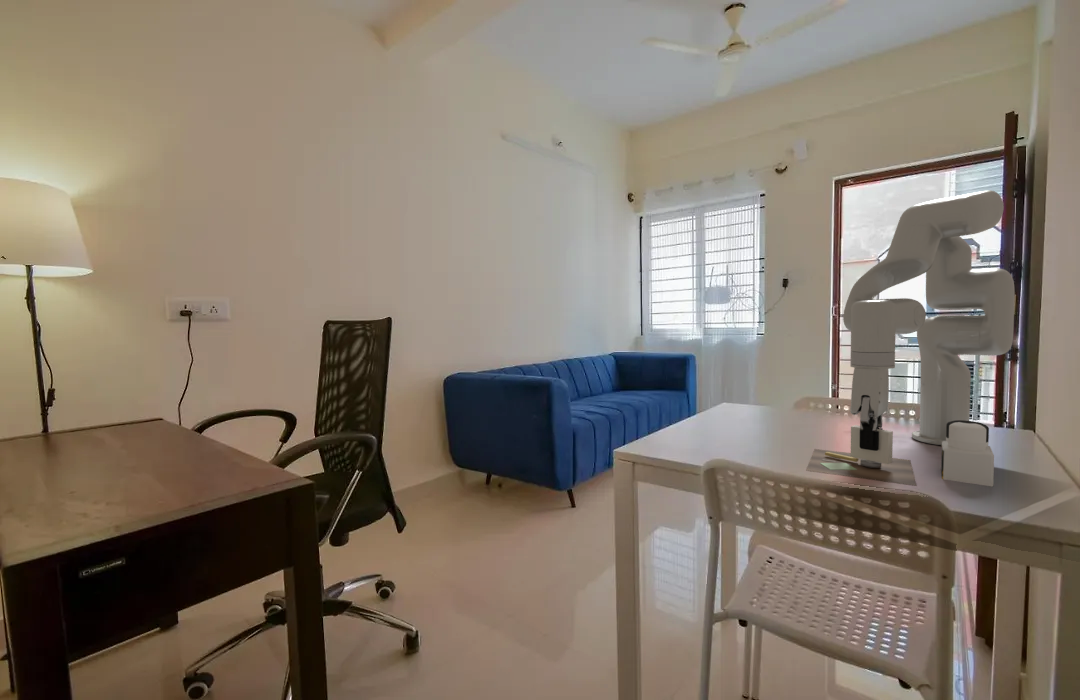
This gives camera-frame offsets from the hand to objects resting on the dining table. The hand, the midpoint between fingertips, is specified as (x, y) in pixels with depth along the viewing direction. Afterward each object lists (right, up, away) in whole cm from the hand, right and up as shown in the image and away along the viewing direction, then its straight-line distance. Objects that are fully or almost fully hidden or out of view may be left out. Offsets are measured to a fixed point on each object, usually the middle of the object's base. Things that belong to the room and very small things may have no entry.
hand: (870, 447), depth 98 cm
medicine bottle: (+13, -6, -7) cm, 16 cm away
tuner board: (-1, -5, +2) cm, 6 cm away
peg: (-1, -4, +3) cm, 5 cm away
